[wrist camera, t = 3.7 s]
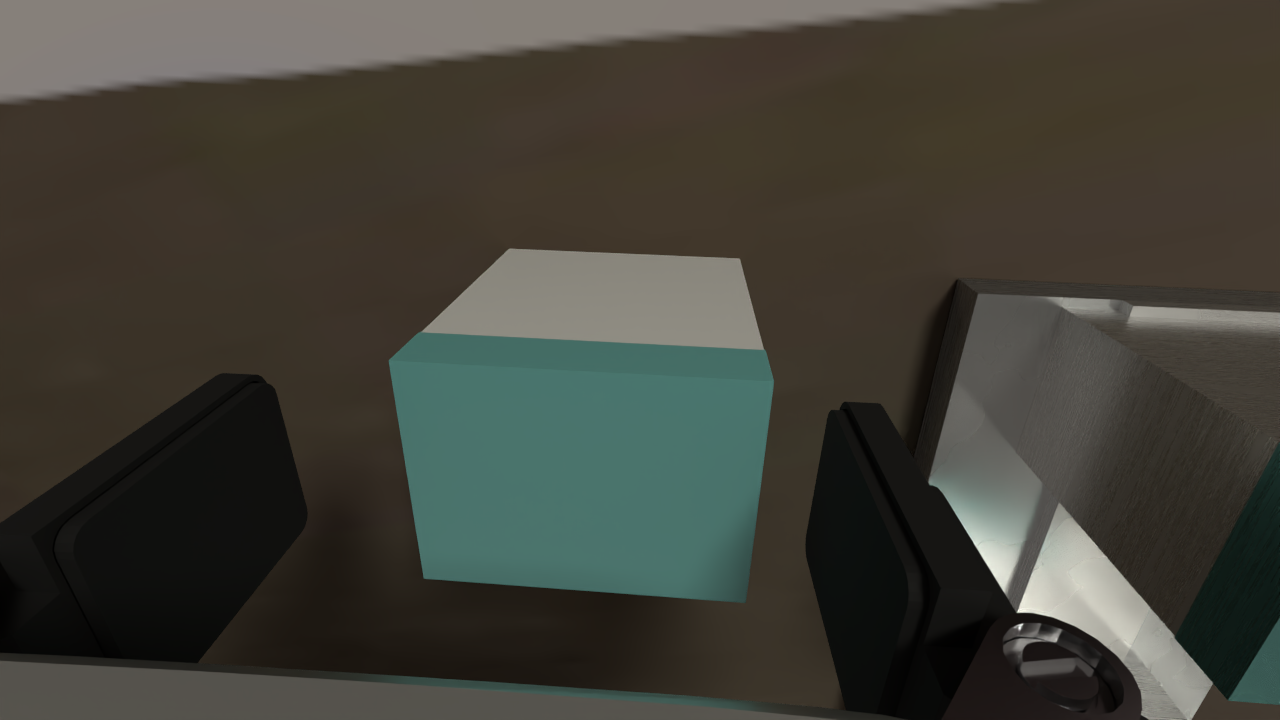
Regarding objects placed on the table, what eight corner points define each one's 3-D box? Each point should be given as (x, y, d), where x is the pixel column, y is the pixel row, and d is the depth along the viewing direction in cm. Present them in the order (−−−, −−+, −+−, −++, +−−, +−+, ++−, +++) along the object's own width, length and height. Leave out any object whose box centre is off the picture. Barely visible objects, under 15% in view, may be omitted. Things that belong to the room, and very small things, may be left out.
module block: (725, 412, 18) (745, 602, 11) (518, 400, 18) (423, 579, 12) (740, 257, 16) (773, 381, 9) (508, 247, 16) (388, 360, 10)
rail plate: (1140, 729, 22) (1379, 1075, 14) (851, 705, 22) (933, 1025, 15) (1379, 297, 15) (2068, 517, 8) (958, 278, 16) (1206, 467, 8)
